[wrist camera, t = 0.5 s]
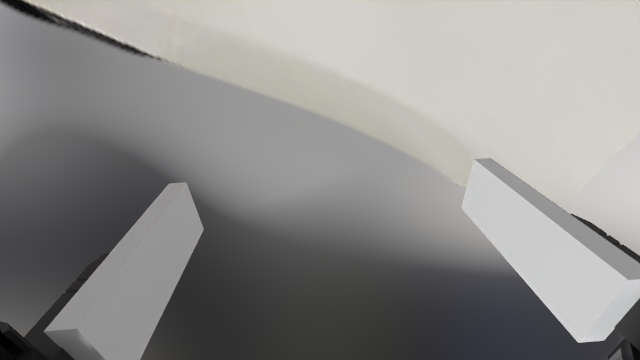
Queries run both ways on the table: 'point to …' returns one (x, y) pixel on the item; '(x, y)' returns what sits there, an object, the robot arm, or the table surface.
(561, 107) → the table surface
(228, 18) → the table surface
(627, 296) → the robot arm
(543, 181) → the table surface
